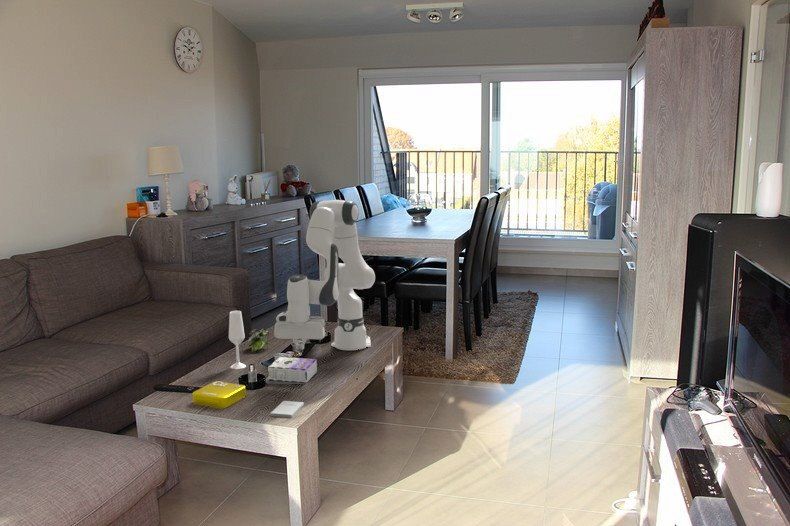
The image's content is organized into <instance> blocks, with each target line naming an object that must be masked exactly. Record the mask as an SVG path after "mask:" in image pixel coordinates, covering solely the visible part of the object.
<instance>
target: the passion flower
mask: <svg viewBox="0 0 790 526" xmlns="http://www.w3.org/2000/svg"><path fill="white" fill-rule="evenodd" d="M257 330H258V329H257V328H256V329H253V330H250V333H249V335H250V337H249V338H248V340H247V344H248V348H249V347H251V352H256V351H257V350H261V349H262V348H263V347H264V346H266V349H267V350H269V347H271V344H270V342H268V341H269V337H270V331H269V330H267V331H265V330H264V328H262V329H259V330H258V331H257ZM266 336H267V338H266V340H264V338H265V337H266Z"/></svg>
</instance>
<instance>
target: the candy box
mask: <svg viewBox="0 0 790 526" xmlns="http://www.w3.org/2000/svg"><path fill="white" fill-rule="evenodd" d="M317 363H318V362H317V358H305V357H301V358H300V357H290V356H289V357H287V356H286V357H284V356H279V357H278V358H277V359H276V360H274V361H273V362H272V363H271V364H270V365H268V366H267V375H268V376H267V377H268V380H274V381H288V382H301V383H305V384H307V383H309V381H310V380H311V379H312V377H314V376H315V374H317V373H318V367H317V366H318V364H317Z"/></svg>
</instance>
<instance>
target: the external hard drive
mask: <svg viewBox="0 0 790 526" xmlns="http://www.w3.org/2000/svg"><path fill="white" fill-rule="evenodd" d="M304 405H305V402H303V401H291V400H283V401H281V403H279V404H278V405H277V406H276V407H275V408H274V409H273V410H272V411H271V412H270V413H269V416H270V417H277V418H278V417H280V418H290V419H291V418H293V417H294V416H295V415H296V414H297V413H298V412H299V411H300V409H302V407H303V406H304Z"/></svg>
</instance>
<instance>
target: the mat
mask: <svg viewBox="0 0 790 526" xmlns="http://www.w3.org/2000/svg"><path fill="white" fill-rule="evenodd" d="M265 380H266V383H267V384H266V385H291V384H303V385H302V386H305V385H306V383H301V382H288V381H274V380H268V376H267V377H266V378H265ZM304 384H305V385H304Z"/></svg>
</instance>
